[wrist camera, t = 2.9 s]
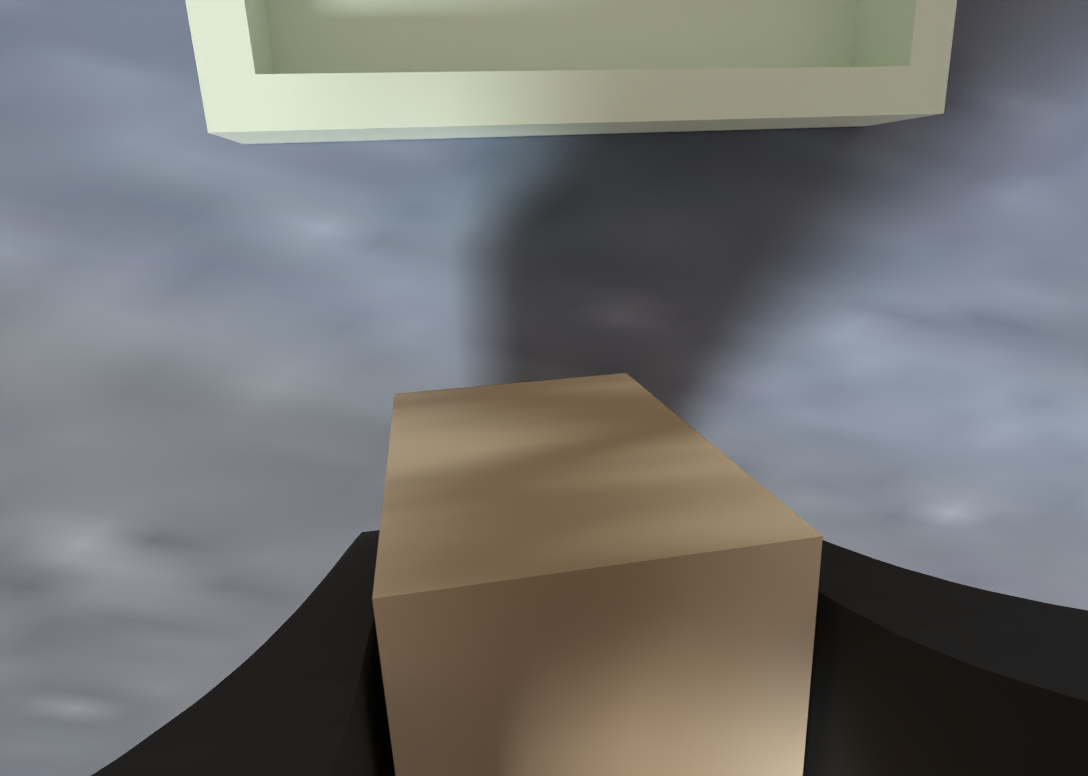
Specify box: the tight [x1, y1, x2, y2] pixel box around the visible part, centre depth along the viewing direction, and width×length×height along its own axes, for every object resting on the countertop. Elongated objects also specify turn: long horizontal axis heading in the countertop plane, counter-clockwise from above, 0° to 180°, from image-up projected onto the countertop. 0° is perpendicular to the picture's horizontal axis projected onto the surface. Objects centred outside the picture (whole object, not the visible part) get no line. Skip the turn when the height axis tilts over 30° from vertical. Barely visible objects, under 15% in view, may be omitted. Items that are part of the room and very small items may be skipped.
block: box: [372, 373, 823, 776], centre depth 9 cm, size 4×5×6 cm
